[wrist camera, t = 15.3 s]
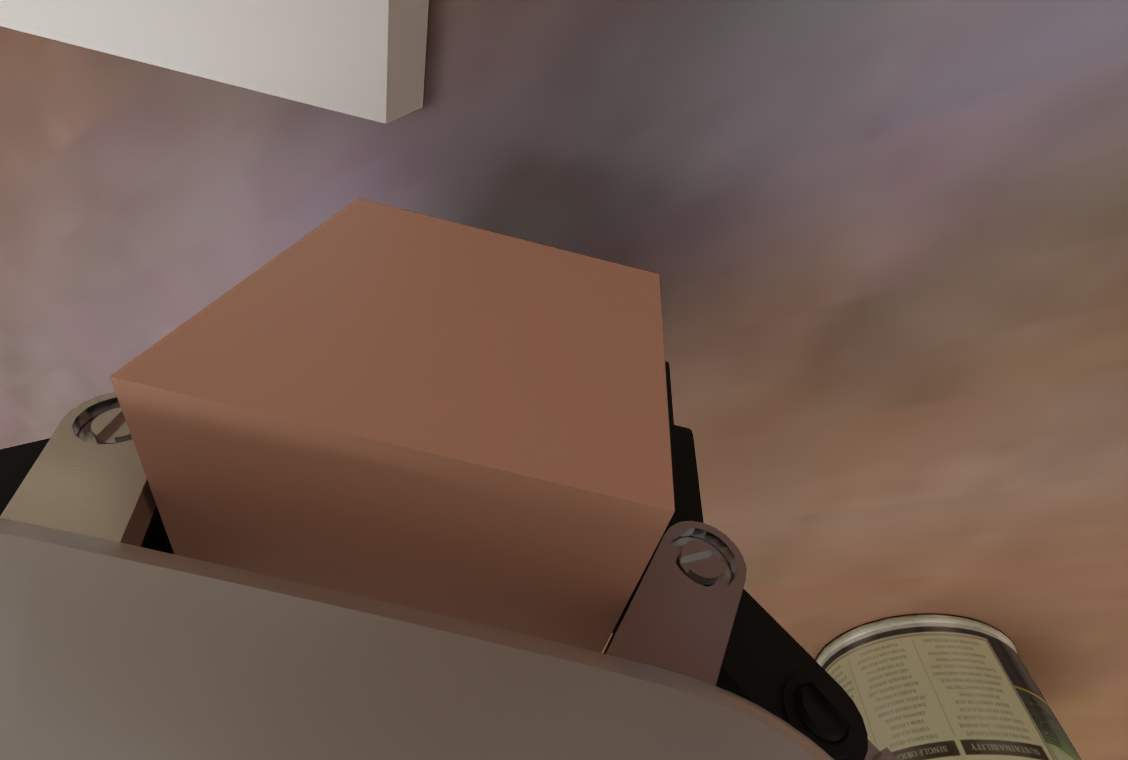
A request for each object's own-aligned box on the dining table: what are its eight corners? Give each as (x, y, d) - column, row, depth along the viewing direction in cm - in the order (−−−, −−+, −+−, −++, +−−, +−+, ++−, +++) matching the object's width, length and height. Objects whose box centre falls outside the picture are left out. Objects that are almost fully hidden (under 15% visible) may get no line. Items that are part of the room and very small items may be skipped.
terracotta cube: (357, 198, 10) (109, 376, 6) (659, 273, 11) (674, 511, 6) (361, 425, 14) (211, 657, 9) (586, 479, 14) (558, 734, 9)
